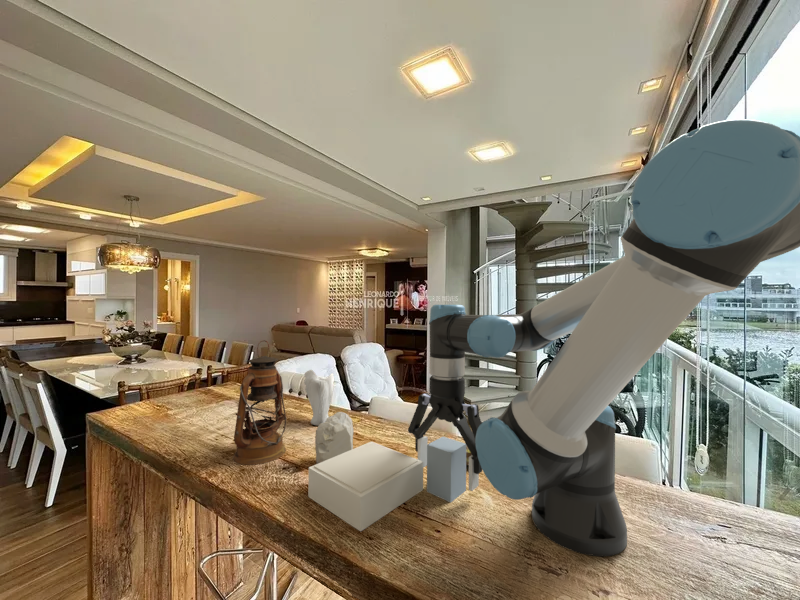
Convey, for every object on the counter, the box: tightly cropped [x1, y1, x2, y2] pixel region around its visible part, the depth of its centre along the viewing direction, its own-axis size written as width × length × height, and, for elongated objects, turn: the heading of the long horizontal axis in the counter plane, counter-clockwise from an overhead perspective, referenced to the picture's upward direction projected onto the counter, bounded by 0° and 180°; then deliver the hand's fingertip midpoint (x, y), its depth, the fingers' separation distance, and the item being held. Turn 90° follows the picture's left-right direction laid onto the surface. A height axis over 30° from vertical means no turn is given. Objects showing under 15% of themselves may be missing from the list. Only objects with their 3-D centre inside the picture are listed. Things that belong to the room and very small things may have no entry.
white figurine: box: [303, 369, 335, 426], centre depth 113 cm, size 8×8×18 cm
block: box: [426, 436, 467, 503], centre depth 73 cm, size 6×6×10 cm
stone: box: [314, 411, 355, 464], centre depth 87 cm, size 10×5×12 cm, turn 122°
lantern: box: [232, 340, 288, 466], centre depth 90 cm, size 17×13×30 cm
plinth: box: [307, 440, 424, 532], centre depth 72 cm, size 16×18×6 cm
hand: (446, 476), depth 73 cm, fingers open, 12 cm apart
